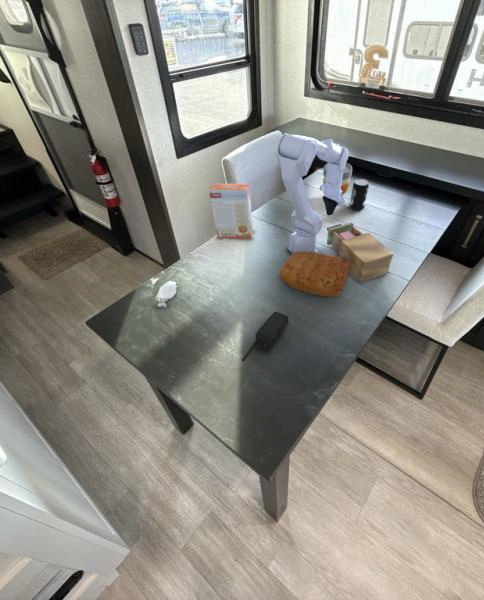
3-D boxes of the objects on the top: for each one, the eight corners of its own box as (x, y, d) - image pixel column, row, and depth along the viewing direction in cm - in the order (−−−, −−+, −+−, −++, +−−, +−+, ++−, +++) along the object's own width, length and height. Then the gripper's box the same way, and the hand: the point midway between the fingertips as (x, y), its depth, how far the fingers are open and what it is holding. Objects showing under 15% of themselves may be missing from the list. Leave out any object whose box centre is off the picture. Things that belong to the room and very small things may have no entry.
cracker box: (253, 231, 130) (249, 182, 115) (251, 239, 126) (246, 190, 111) (220, 230, 131) (212, 182, 116) (217, 238, 127) (208, 189, 112)
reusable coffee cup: (316, 195, 150) (319, 163, 139) (340, 190, 152) (344, 159, 141) (327, 208, 141) (331, 175, 131) (352, 203, 144) (358, 170, 133)
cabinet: (338, 260, 116) (341, 240, 109) (364, 251, 119) (368, 232, 112) (359, 282, 107) (364, 263, 101) (387, 272, 110) (393, 253, 104)
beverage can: (360, 212, 138) (365, 186, 129) (346, 208, 141) (350, 182, 132) (366, 206, 141) (372, 180, 133) (353, 202, 144) (358, 177, 136)
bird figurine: (175, 309, 102) (180, 283, 107) (164, 299, 96) (170, 272, 101) (161, 310, 103) (167, 285, 108) (150, 300, 97) (157, 274, 102)
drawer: (320, 238, 124) (322, 223, 119) (343, 231, 127) (345, 216, 122) (344, 262, 113) (347, 247, 108) (368, 254, 116) (372, 239, 111)
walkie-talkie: (294, 321, 93) (261, 370, 79) (281, 326, 97) (247, 373, 84) (282, 305, 91) (246, 352, 78) (269, 311, 96) (232, 357, 82)
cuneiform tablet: (352, 276, 109) (356, 258, 103) (336, 309, 99) (339, 291, 93) (294, 259, 116) (295, 242, 110) (273, 288, 106) (273, 270, 100)
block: (343, 249, 117) (345, 239, 113) (337, 243, 119) (338, 233, 116) (353, 246, 118) (355, 236, 115) (347, 240, 121) (348, 230, 117)
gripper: (354, 186, 109) (348, 220, 119) (332, 170, 118) (328, 203, 128) (337, 191, 107) (332, 225, 117) (316, 174, 116) (313, 207, 126)
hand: (329, 214), depth 122 cm, fingers closed
